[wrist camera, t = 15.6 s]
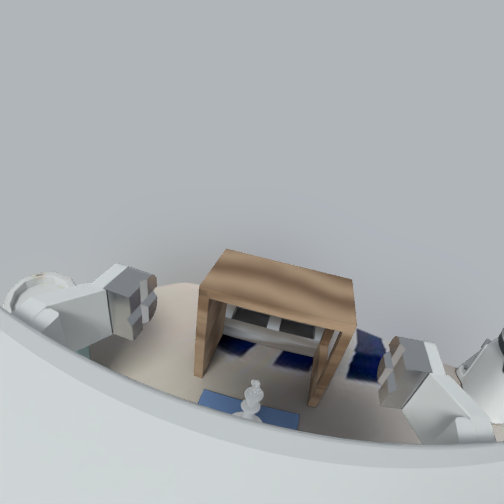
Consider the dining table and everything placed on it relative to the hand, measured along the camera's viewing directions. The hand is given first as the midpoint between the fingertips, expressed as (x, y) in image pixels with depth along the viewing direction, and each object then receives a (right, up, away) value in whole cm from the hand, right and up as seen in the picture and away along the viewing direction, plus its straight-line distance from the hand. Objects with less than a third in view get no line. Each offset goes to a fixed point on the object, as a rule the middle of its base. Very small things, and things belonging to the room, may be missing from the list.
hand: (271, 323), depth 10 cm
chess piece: (-2, -19, +23) cm, 30 cm away
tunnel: (+2, -13, +37) cm, 40 cm away
